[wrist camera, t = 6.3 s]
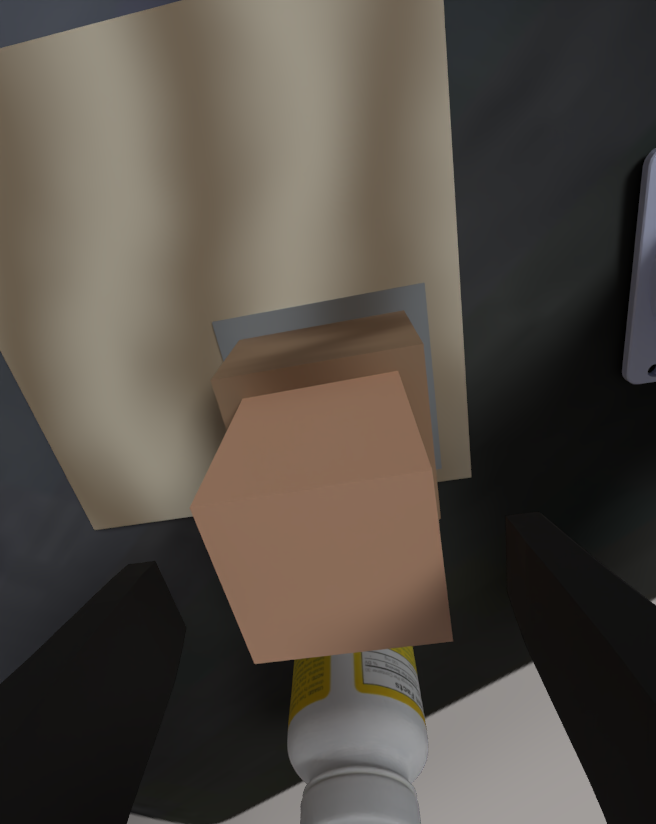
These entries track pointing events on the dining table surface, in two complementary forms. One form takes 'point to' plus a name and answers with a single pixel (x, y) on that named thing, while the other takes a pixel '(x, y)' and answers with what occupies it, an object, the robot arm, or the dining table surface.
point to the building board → (218, 221)
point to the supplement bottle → (358, 737)
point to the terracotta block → (326, 522)
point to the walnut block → (329, 365)
